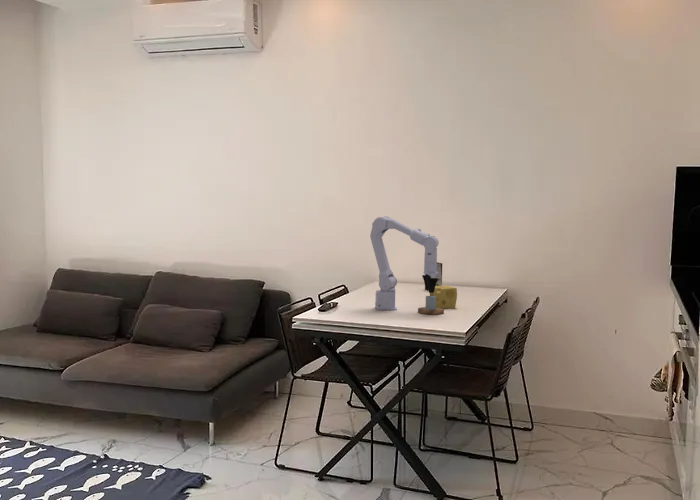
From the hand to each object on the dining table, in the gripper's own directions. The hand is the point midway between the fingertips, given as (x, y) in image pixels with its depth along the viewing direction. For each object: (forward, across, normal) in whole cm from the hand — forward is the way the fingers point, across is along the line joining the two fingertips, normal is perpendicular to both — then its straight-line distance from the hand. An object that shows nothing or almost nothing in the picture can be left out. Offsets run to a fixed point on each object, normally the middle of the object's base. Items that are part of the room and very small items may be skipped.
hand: (429, 291), depth 313 cm
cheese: (+10, +14, -10) cm, 20 cm away
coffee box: (+10, +64, -16) cm, 67 cm away
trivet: (+10, -1, -1) cm, 10 cm away
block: (+8, -1, 0) cm, 8 cm away
